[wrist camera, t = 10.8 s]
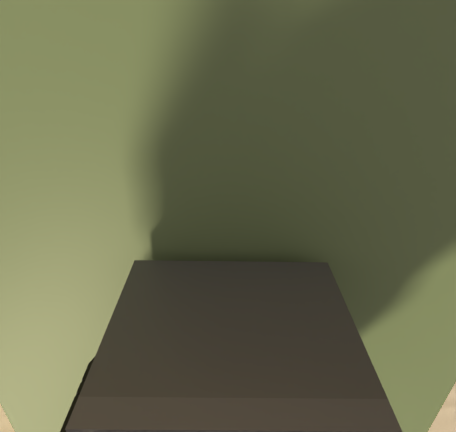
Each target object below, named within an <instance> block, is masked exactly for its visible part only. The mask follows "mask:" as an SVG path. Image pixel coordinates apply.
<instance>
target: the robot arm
mask: <svg viewBox="0 0 456 432" xmlns="http://www.w3.org/2000/svg"><path fill="white" fill-rule="evenodd" d="M94 358H95V357H94ZM94 358H93V359H92V360H91V361H90V363H89V364H88V366H87V369H86V371H85V373H84V376H83V378H82V382H81V383H80V385H79V388H78V390H77V392H76V396H75V397H74V400H73V402H72V404H71V407H70V409H69V411H68V414H67V416H66V419H65V421H64V423H63V426H62V428H61V430H60V432H66V430H65V428H66V426H67V424H68V421H69V419H70V416H71V414H72V411H73V409H74V407H75V404H76V402H77V399H78V397H79V394H80V392H81V390H82V387H83V385H84V382H85V380H86V377H87V375H88V372H89V370H90V368H91V365H92V363H93V360H94Z"/></svg>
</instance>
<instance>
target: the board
mask: <svg viewBox="0 0 456 432" xmlns="http://www.w3.org/2000/svg"><path fill="white" fill-rule="evenodd" d="M134 260H163V261H248V262H328V264H329V267H330V269H331V271H332V273H333V276H334V278H335V280H336V283H337V285H338V287H339V289H340V292H341V294H342V296H343V298H344V301H345V303H346V305H347V307H348V310H349V312H350V314H351V316H352V319H353V321H354V323H355V326H356V328H357V330H358V332H359V335H360V337H361V339H362V341H363V344H364V346H365V348H366V350H367V353H368V355H369V357H370V359H371V362H372V364H373V366H374V369H375V371H376V373H377V375H378V378H379V380H380V382H381V384H382V387H383V389H384V391H385V393H386V396H387V398H388V400H389V402H390V405H391V407H392V409H393V411H394V414H395V416H396V418H397V421H398V423H399V425H400V427H401V430H402V432H428V430H429V428H430V427H431V425H432V423H433V421H434V419H435V418H436V416H437V414H438V412H439V411H440V409H441V407H442V405H443V403H444V402H445V400H446V398H447V396H448V394H449V393H450V391H451V389H452V387H453V386H454V384H455V382H456V0H0V404H1V406H2V408H3V410H4V412H5V413H6V415H7V417H8V419H9V421H10V423H11V425H12V427H13V429H14V431H15V432H60V430H61V428H62V426H63V423H64V421H65V419H66V416H67V414H68V411H69V409H70V407H71V404H72V402H73V400H74V397H75V396H76V392H77V390H78V388H79V385H80V383H81V382H82V378H83V376H84V373H85V371H86V369H87V366H88V364H89V363H90V361H91V360H92V359H93V358H94V357H95V355H96V353H97V351H98V348H99V346H100V343H101V341H102V338H103V336H104V334H105V331H106V329H107V326H108V324H109V321H110V319H111V316H112V314H113V312H114V309H115V307H116V304H117V302H118V299H119V297H120V295H121V292H122V290H123V287H124V285H125V282H126V280H127V278H128V275H129V273H130V270H131V268H132V265H133V263H134Z"/></svg>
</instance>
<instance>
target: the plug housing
mask: <svg viewBox="0 0 456 432" xmlns="http://www.w3.org/2000/svg"><path fill="white" fill-rule="evenodd" d="M65 430H66V432H402V430H401V427H400V425H399V423H398V421H397V418H396V416H395V414H394V411H393V409H392V407H391V405H390V402H389V400H388V398H387V396H386V393H385V391H384V389H383V387H382V384H381V382H380V380H379V378H378V375H377V373H376V371H375V369H374V366H373V364H372V362H371V359H370V357H369V355H368V353H367V350H366V348H365V346H364V344H363V341H362V339H361V337H360V335H359V332H358V330H357V328H356V326H355V323H354V321H353V319H352V316H351V314H350V312H349V310H348V307H347V305H346V303H345V301H344V298H343V296H342V294H341V292H340V289H339V287H338V285H337V283H336V280H335V278H334V276H333V273H332V271H331V269H330V267H329V264H328V262H248V261H163V260H134V263H133V265H132V268H131V270H130V273H129V275H128V278H127V280H126V282H125V285H124V287H123V290H122V292H121V295H120V297H119V299H118V302H117V304H116V307H115V309H114V312H113V314H112V316H111V319H110V321H109V324H108V326H107V329H106V331H105V334H104V336H103V338H102V341H101V343H100V346H99V348H98V351H97V353H96V355H95V358H94V360H93V363H92V365H91V368H90V370H89V372H88V375H87V377H86V380H85V382H84V385H83V387H82V390H81V392H80V394H79V397H78V399H77V402H76V404H75V407H74V409H73V411H72V414H71V416H70V419H69V421H68V424H67V426H66V428H65Z"/></svg>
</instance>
